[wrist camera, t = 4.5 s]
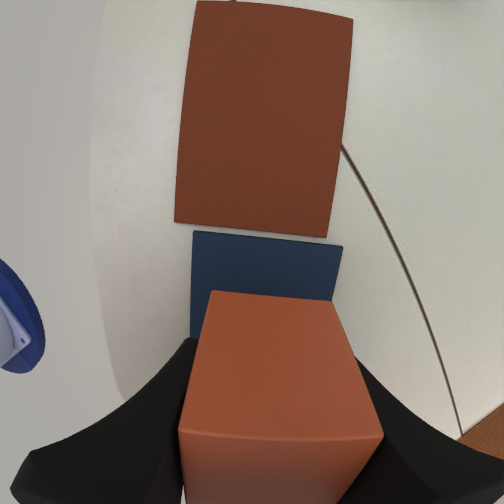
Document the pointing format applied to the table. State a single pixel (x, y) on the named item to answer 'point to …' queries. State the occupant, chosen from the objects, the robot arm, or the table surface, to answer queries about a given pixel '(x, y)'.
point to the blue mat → (258, 269)
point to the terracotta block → (274, 405)
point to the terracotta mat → (262, 117)
